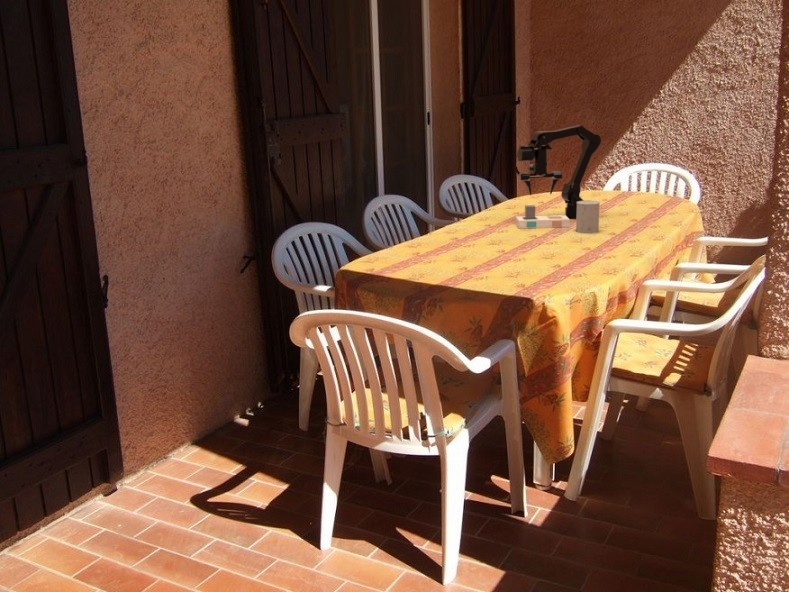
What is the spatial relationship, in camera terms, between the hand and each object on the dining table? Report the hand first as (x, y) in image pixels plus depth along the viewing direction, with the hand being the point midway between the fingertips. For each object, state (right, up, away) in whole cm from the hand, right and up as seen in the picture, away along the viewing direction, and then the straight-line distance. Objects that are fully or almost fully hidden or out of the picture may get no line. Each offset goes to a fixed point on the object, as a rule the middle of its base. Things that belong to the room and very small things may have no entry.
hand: (540, 194), depth 397 cm
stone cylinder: (+16, -18, -23) cm, 33 cm away
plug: (-6, -15, -9) cm, 18 cm away
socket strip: (-1, -15, -9) cm, 17 cm away
